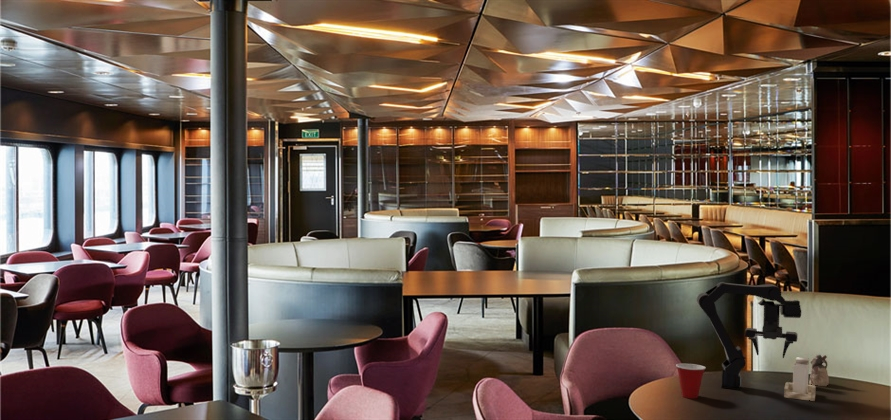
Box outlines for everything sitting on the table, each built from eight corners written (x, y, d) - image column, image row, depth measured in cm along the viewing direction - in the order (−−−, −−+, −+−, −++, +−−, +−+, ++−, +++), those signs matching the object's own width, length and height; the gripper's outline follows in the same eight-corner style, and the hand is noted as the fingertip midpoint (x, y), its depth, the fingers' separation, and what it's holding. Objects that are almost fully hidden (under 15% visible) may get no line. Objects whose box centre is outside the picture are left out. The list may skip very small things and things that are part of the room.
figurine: (810, 380, 313) (811, 351, 312) (830, 383, 309) (830, 354, 308) (807, 384, 307) (808, 354, 307) (826, 387, 303) (827, 357, 303)
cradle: (784, 397, 289) (784, 368, 289) (787, 383, 309) (788, 356, 308) (814, 401, 284) (815, 371, 284) (816, 386, 304) (817, 359, 304)
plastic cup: (706, 394, 292) (707, 363, 292) (703, 402, 282) (704, 369, 282) (677, 390, 297) (677, 360, 296) (673, 398, 287) (673, 366, 286)
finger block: (792, 394, 291) (793, 365, 290) (795, 391, 294) (795, 363, 294) (805, 396, 288) (806, 367, 287) (807, 393, 292) (808, 364, 291)
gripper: (743, 318, 296) (742, 358, 296) (796, 322, 287) (795, 363, 288) (746, 313, 306) (745, 352, 306) (798, 317, 297) (797, 357, 298)
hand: (770, 356), depth 299 cm, fingers open, 9 cm apart
